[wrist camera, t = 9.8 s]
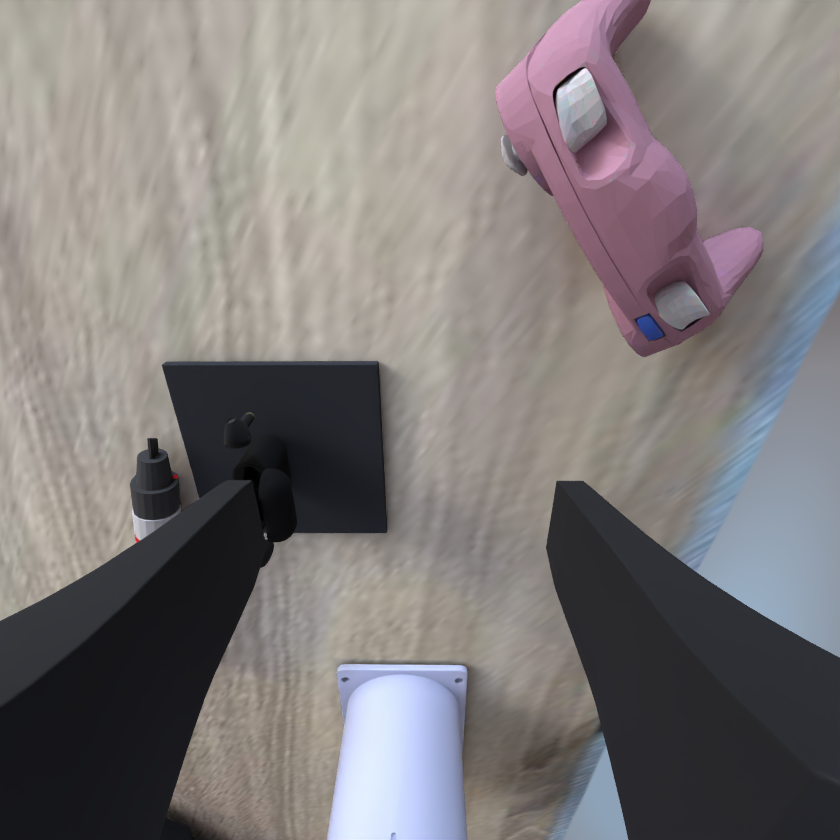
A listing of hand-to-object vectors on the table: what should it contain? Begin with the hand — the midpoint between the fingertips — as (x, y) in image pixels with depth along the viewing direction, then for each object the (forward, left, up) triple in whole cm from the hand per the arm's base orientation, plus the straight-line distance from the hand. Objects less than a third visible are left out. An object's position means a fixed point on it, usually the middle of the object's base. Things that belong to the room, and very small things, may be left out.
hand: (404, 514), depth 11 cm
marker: (-10, +13, -10) cm, 19 cm away
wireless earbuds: (-4, +6, -9) cm, 12 cm away
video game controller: (+7, -7, -10) cm, 14 cm away
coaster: (-4, +6, -9) cm, 12 cm away
